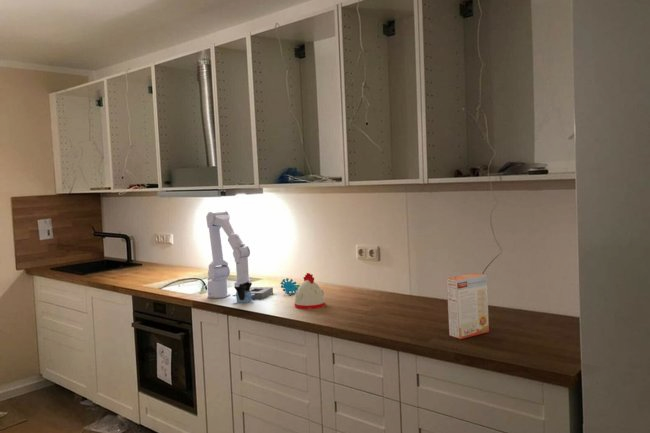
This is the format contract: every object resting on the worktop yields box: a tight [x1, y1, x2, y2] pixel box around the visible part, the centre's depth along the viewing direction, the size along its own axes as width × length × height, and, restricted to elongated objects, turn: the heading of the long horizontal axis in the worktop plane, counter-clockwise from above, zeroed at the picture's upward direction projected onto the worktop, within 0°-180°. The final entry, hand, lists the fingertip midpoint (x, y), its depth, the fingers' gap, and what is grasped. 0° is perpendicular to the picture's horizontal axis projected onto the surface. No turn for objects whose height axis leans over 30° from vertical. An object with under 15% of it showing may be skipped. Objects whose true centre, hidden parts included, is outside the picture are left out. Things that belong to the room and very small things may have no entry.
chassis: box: [249, 286, 274, 300], centre depth 264 cm, size 12×14×3 cm
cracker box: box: [446, 272, 490, 340], centre depth 183 cm, size 14×6×21 cm, turn 118°
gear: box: [280, 277, 301, 295], centre depth 268 cm, size 11×6×10 cm
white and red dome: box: [294, 272, 326, 310], centre depth 238 cm, size 14×14×15 cm
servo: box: [232, 291, 255, 304], centre depth 252 cm, size 4×10×6 cm, turn 74°
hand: (243, 298), depth 252 cm, fingers closed on servo, 4 cm apart
